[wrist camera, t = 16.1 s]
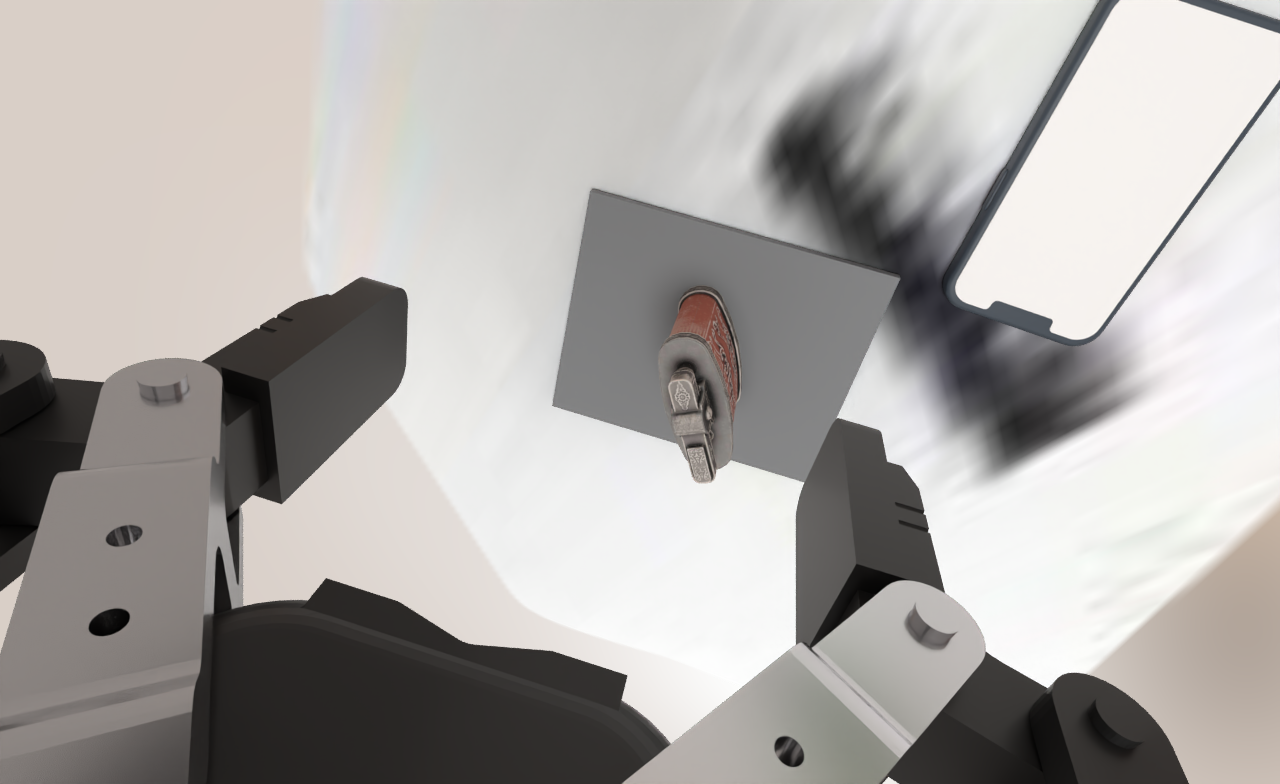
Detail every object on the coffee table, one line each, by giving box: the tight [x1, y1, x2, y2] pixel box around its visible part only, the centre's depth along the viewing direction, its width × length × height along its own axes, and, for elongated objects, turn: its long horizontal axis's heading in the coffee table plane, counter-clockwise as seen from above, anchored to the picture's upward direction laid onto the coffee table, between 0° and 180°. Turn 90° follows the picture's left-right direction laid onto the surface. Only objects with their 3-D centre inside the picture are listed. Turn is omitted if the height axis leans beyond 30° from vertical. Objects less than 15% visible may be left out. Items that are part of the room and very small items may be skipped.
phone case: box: [943, 0, 1280, 346], centre depth 33 cm, size 9×2×16 cm
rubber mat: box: [552, 189, 900, 482], centre depth 41 cm, size 15×18×1 cm
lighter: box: [658, 285, 742, 483], centre depth 37 cm, size 8×3×10 cm, turn 15°
